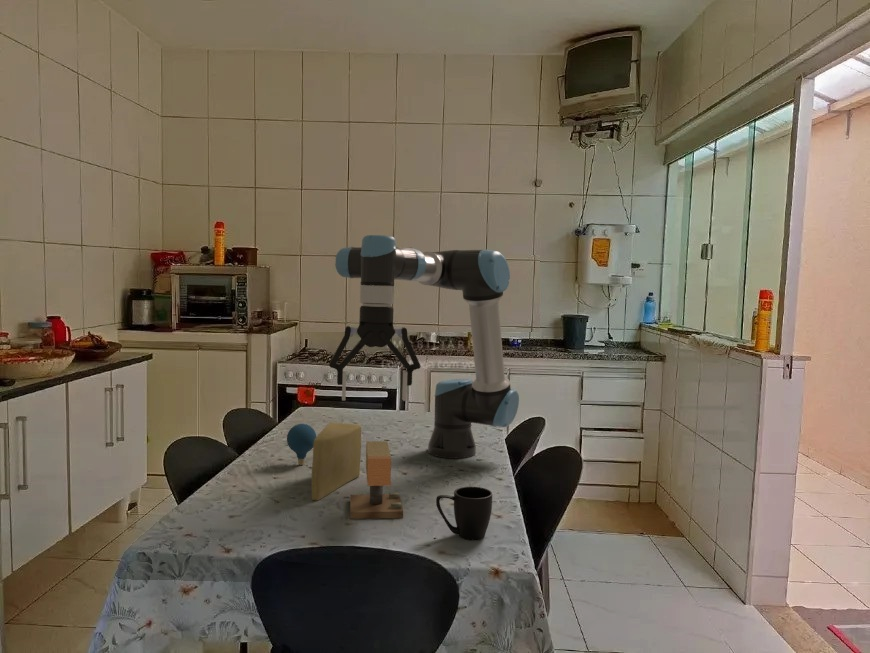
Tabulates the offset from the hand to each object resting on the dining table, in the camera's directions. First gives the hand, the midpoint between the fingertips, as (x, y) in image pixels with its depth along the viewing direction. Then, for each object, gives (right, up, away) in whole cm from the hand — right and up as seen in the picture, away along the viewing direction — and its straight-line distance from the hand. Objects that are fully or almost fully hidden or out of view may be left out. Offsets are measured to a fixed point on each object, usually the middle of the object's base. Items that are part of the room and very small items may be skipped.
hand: (374, 399), depth 148 cm
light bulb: (-25, -24, +42) cm, 54 cm away
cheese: (-13, -26, +23) cm, 37 cm away
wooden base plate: (0, -27, +8) cm, 28 cm away
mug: (+20, -29, -7) cm, 35 cm away
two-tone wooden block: (0, -21, +3) cm, 21 cm away
